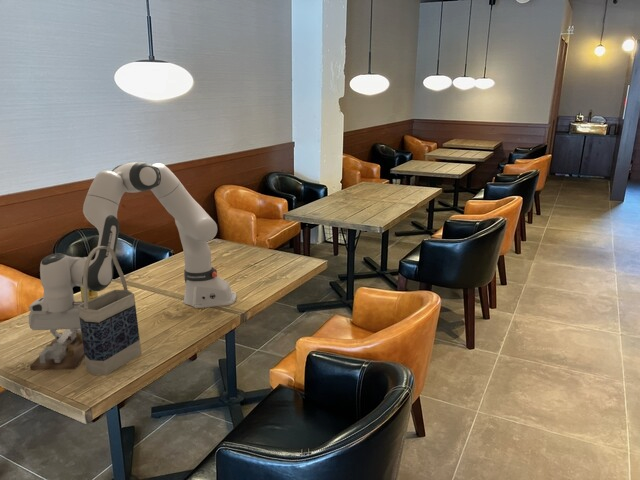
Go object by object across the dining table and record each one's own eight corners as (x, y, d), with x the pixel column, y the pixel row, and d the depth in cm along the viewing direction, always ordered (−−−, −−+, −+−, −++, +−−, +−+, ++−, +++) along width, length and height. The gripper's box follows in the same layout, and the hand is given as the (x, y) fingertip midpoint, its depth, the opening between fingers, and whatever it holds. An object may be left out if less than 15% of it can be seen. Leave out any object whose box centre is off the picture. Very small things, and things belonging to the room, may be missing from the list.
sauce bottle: (92, 306, 211) (86, 261, 205) (79, 305, 212) (73, 260, 207) (101, 300, 217) (96, 256, 212) (88, 299, 218) (83, 255, 213)
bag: (102, 378, 158) (86, 256, 147) (82, 371, 161) (65, 252, 150) (144, 352, 174) (133, 240, 163) (125, 347, 177) (113, 237, 166)
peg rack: (98, 337, 184) (97, 324, 183) (76, 368, 163) (74, 354, 162) (58, 338, 183) (57, 326, 182) (30, 370, 162) (28, 356, 160)
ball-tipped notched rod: (68, 330, 182) (67, 323, 181) (86, 330, 183) (85, 322, 182) (40, 363, 160) (39, 354, 159) (60, 362, 160) (58, 354, 160)
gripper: (95, 297, 172) (99, 334, 176) (32, 299, 170) (38, 336, 174) (88, 305, 166) (93, 343, 170) (23, 307, 164) (30, 345, 168)
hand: (65, 339), depth 172 cm, fingers closed on ball-tipped notched rod, 3 cm apart
